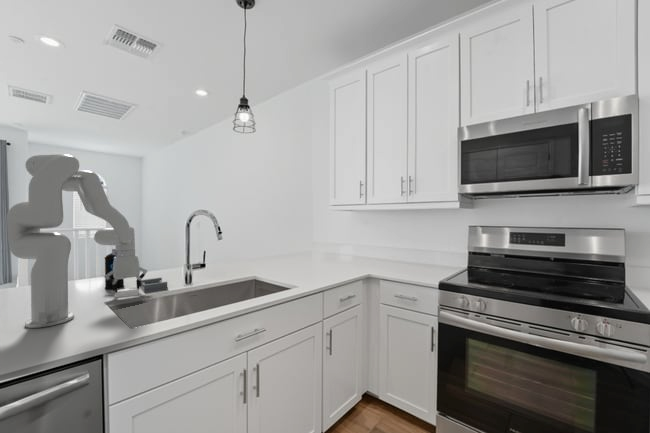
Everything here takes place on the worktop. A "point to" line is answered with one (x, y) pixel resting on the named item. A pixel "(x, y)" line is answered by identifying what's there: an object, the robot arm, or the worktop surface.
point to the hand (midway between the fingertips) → (127, 290)
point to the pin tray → (153, 285)
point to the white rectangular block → (127, 292)
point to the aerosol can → (108, 268)
